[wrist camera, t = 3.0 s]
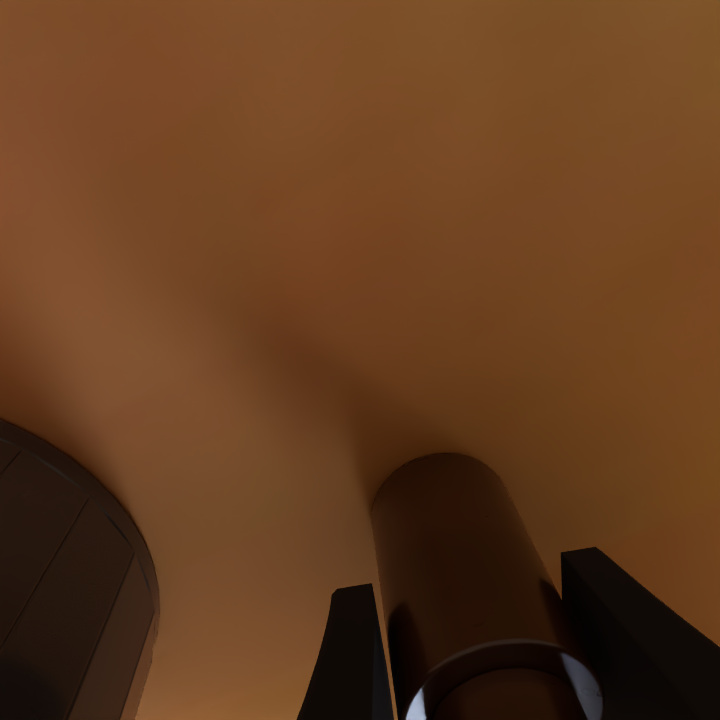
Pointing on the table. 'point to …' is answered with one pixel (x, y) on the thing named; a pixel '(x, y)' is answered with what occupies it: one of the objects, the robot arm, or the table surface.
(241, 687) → the table surface
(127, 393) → the table surface
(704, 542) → the table surface
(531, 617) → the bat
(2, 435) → the brown round cylinder
